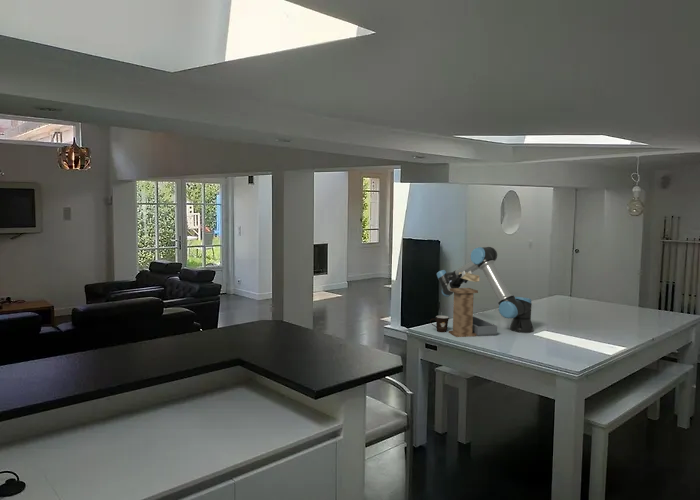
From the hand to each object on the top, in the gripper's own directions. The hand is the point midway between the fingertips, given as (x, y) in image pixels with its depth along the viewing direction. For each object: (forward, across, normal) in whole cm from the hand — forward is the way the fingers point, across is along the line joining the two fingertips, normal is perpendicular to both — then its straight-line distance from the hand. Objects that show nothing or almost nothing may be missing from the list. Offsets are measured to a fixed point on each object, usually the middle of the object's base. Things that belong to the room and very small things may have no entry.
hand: (467, 272), depth 371 cm
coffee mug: (-13, +24, -37) cm, 46 cm away
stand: (-2, +13, -43) cm, 45 cm away
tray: (-11, -2, -38) cm, 40 cm away
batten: (-1, 0, -5) cm, 5 cm away
